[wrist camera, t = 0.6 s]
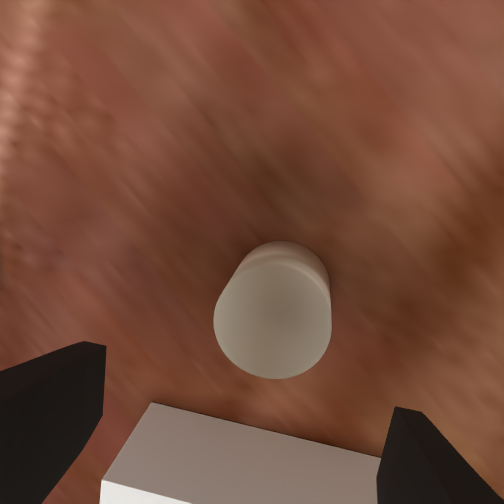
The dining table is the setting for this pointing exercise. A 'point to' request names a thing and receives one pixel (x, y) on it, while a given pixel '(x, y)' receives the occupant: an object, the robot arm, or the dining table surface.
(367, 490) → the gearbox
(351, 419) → the dining table surface
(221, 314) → the cylinder
